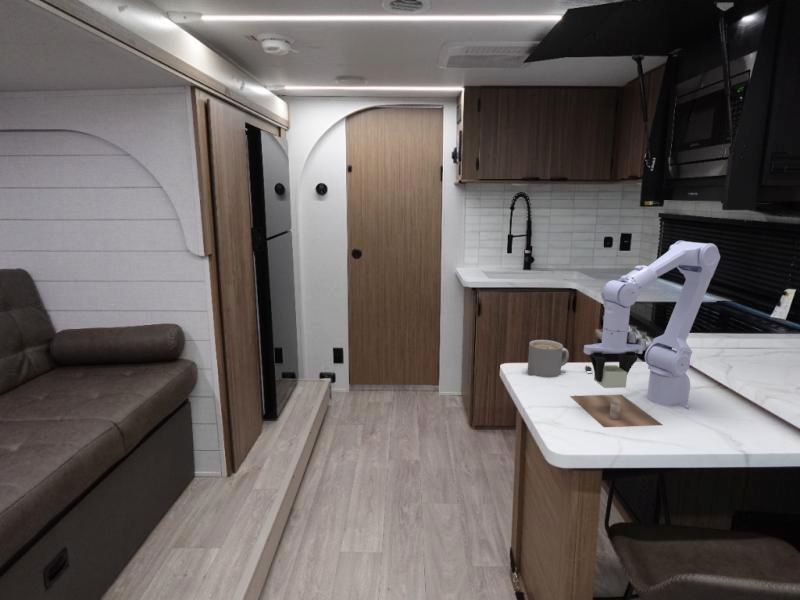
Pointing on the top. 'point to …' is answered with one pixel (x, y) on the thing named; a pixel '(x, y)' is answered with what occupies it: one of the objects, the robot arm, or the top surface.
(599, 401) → the post board
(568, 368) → the top surface
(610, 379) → the collar
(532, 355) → the coffee mug
